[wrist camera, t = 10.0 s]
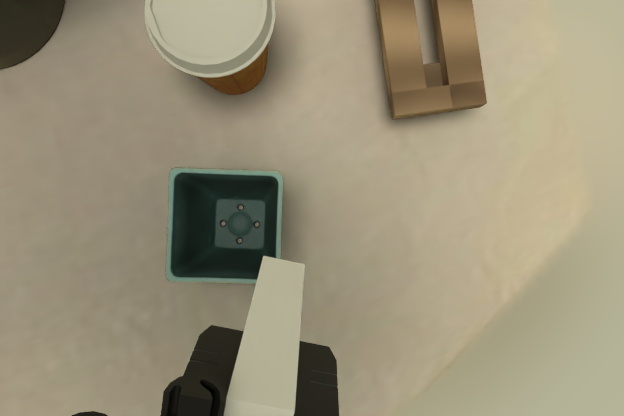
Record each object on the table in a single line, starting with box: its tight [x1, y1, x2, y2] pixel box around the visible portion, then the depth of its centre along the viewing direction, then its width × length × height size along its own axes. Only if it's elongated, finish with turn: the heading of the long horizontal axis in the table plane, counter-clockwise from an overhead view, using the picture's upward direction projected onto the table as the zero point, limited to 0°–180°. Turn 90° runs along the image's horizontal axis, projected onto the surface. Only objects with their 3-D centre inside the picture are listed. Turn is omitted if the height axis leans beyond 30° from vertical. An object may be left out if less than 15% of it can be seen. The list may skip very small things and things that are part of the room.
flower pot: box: [166, 167, 283, 284], centre depth 38 cm, size 9×9×9 cm
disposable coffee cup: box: [144, 0, 275, 95], centre depth 37 cm, size 10×10×12 cm
